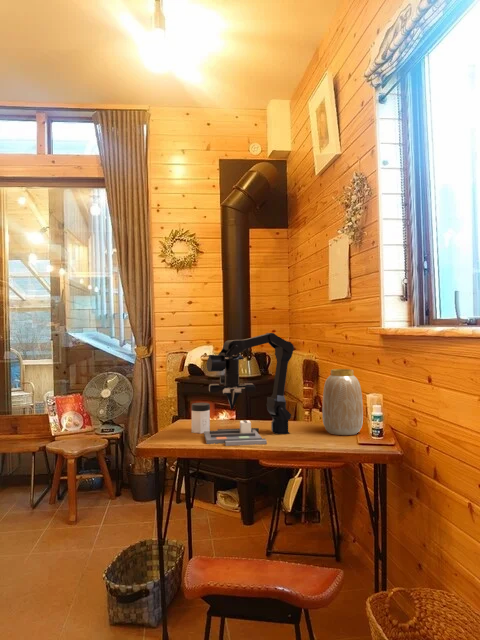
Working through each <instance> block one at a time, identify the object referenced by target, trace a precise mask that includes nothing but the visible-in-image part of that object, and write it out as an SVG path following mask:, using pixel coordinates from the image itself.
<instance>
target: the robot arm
mask: <svg viewBox="0 0 480 640" xmlns="http://www.w3.org/2000/svg"><path fill="white" fill-rule="evenodd" d="M264 344H268V345H269V346H271V348H273V349H274V355H275V359H276V366H275V374H274V382H273V391H272V394H271V395H270V397H269V396H267V397H266V405H265V407H266V409H267V412H268V413H269V414H270V417H271V418H272V421H271V422H270V423H271V427H270V428H271V429H270V430H271V432H272V433H273V434H274V435H286V434H287V435H288V434H290V431H289V420H291V418H292V414H291V413H290V411H288V410H287V402H286V398H285V388H286V383H287V382H286V380H287V373H288V366H289V365H288V364H289V362H290V360H291V358H292V357H293V354H294V350H295V347H294V344H293V343H292V342H291V341H288V340H286V339H284V338H282V337H280V336H278V335H276V333H273V332H266V333H264V334H260V335H256V336H252V337H250V338H249V337H248V338H245V339H244V338H243V339H233V340H232V339H231V340H229V339H228V340H226V341H225V342H224V343H223V346H222V348H221V350H220V352H219V353H218V354H217V355H216V354H209V355H208V358H207V360H206V361H207V362H206V370H207V372H209V373H211V372H223V371H224V375H220V376H219V383H220V384H219V383H210V384H209V385H208V391H209V393H218V392H219V391H222V394H223V395H225V396H226V398H227V399H228V400H227V401H228V404H229V407H230V409H231V410H234V407H235V405H236V402H237V399H238V397H239V396H240V395H242V393H243V392H242V391H247V392H250V393H251V392H256V385H255V384H254V383H252V382H251V383H250V382H249V383H243V385H240V361H241V360H242V361H243V360H244V359H245V358H244V357H243V356H242V355H241V354H240V353H242V352H244V351H246V350H248V349H250V348H254V347H257V346H261V345H264ZM231 391H232V392H231Z"/></svg>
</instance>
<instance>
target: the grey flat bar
mask: <svg viewBox="0 0 480 640" xmlns="http://www.w3.org/2000/svg"><path fill="white" fill-rule="evenodd" d="M267 441H268V440H267V439H266V438H262V439H239V440H225V443H224V445H225V446H226V447H228V446H250V445H251V446H253V445H255V444H256V445H267Z"/></svg>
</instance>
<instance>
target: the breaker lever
mask: <svg viewBox="0 0 480 640" xmlns="http://www.w3.org/2000/svg"><path fill="white" fill-rule="evenodd" d="M251 428H252V422H251V420H246V419H244V420H239V429H240V433H251Z"/></svg>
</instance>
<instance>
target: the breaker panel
mask: <svg viewBox="0 0 480 640" xmlns="http://www.w3.org/2000/svg"><path fill="white" fill-rule="evenodd" d="M203 436H204V440H205V442H206V445H211V444H212V445H216V444H218V443H220V444H225V440H239V439H263V437H262V436H261V435H260V434H259V432H257V431H256V430H252V429H251V433H240V430H220V431H217V430H210V431H204V433H203ZM214 443H215V444H214Z"/></svg>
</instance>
